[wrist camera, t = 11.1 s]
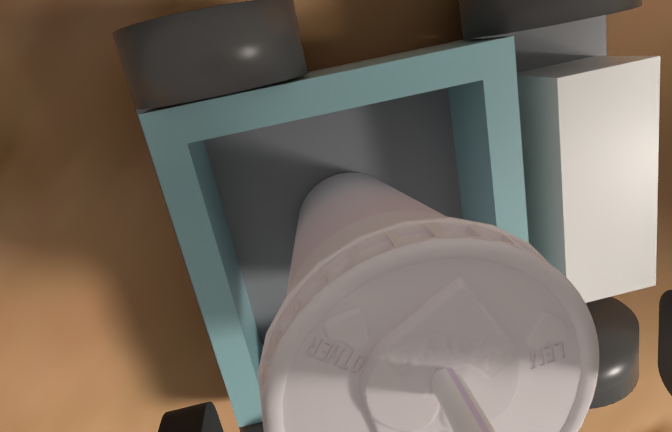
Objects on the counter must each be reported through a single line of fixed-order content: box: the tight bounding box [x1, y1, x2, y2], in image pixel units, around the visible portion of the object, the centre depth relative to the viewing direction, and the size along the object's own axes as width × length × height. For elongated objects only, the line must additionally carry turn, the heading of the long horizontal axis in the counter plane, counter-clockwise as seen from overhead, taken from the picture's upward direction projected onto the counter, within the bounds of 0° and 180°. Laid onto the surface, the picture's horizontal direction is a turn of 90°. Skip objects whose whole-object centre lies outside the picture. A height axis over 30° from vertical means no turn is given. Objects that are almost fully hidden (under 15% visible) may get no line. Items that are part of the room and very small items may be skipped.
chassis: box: [113, 0, 660, 432], centre depth 17 cm, size 16×15×5 cm
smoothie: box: [258, 172, 599, 432], centre depth 11 cm, size 6×6×14 cm
